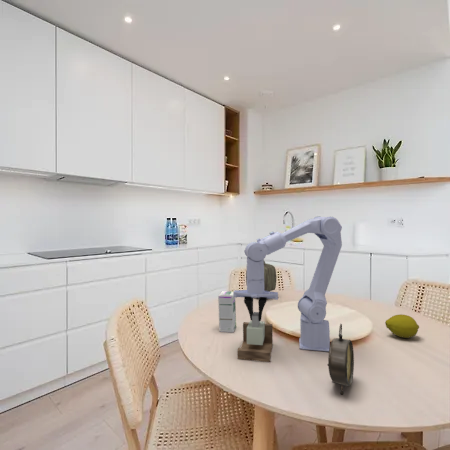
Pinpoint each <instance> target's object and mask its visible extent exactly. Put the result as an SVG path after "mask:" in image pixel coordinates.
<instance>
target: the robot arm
mask: <svg viewBox="0 0 450 450" xmlns="http://www.w3.org/2000/svg"><path fill="white" fill-rule="evenodd" d="M342 229H343V227H342V225H341V223H340V222H339V220H338V219H337V218H336V217H334V216H318V215H317V216H315V217H313V218H308V219H307V220H304V221H303V222H301V223H299V224H297V225H295V226H293V227H291V228H289V229H287V230H285V231H284V232H280V231H271V232H269V235H267V236H264V237H262V238H261V237H259V238H257V239H256V242H255V241H251V242H249V243H247V245H246V246H245V249H244V255H245V256H246V269H247V285H246V289H241V290H239V289H236V290H235V289H234V290H233V291H234V298H235V299H236V298H243V299H244V300H243V302H244V305H245V306H246V308H247V311H248V315H249V317H250V321H252V315H253V313H254V299H258V301H257V303H258V312H259V321H262V316H263V310H264V308H265V305H266V304H267V301H268V299H269V300H277V301H278V299H279V292H277V291H264V261H265V259H266V256H269V255H271V254H273V253H275V252H277V251H279V250H281V249H283V248H285V246H286V244H287V242H289V241H291V240H294V239H298V238H299V237H302V236H305V235H306V234H314V235H316V236H317V237H318V238H319V240H320V241H321V243H322V245H323V246H322V247H323V248H322V251H321V253H320V256H319V258H318V263H317V265H316V268H315V271H314V273H313V276H312V279H311V283H310V286H309V288H308V289H306V290H305V291H304V293H303V295H302V297H300V299H299V300H298V302H297V309H298V311H299V312H300V319H299V320H300V322H299V323H300V337H299V338H298V343H299V349H300V350H307V351H308V350H309V351H317V352H329V348H330V344H331V338H330V337H331V336H330V334H331V333H330V331H331V330H330V323H329V320H327V319H325V318H326V316H327V308H326V307H327V304H328V302H327V298H326V292H327V290H328V287H329V283H330V281H331V278H332V276H333V273H334V270H335V267H336V263H337V261H338V258H339V255H340V253H341V249H342V247H343V242H342V233H341V232H342Z"/></svg>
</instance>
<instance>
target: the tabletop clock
mask: <svg viewBox="0 0 450 450" xmlns="http://www.w3.org/2000/svg"><path fill="white" fill-rule="evenodd" d="M245 284H246V286H247V268H246V272H245ZM276 287H277V270H276V266H275V265H273V264H270V263H266V261H265V260H264V291H270V292H273V291H275V290H276Z"/></svg>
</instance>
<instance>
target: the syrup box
mask: <svg viewBox="0 0 450 450" xmlns="http://www.w3.org/2000/svg"><path fill="white" fill-rule="evenodd" d="M234 291H235V290H222V291H221V292H220V293H219V294H218V295H217V297H218V300H217V301H218V325H219V327H218V330H219V332H222V333H235V330H236V328H237V312H236V311H237V307H236V298H234Z"/></svg>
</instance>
